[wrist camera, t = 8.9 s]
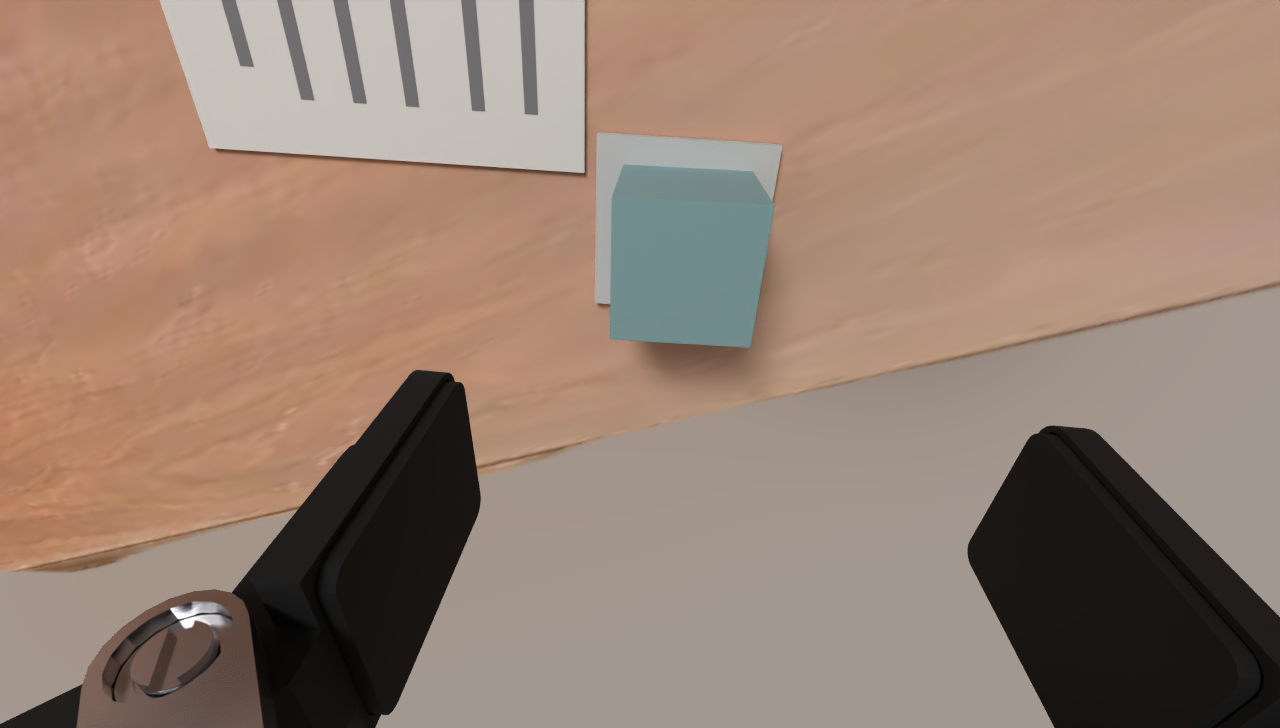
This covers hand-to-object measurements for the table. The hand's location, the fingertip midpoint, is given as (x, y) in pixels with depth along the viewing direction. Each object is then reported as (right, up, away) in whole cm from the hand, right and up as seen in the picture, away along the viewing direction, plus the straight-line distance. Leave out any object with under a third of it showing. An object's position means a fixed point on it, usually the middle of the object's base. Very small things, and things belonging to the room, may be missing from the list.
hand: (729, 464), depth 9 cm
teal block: (0, +7, +13) cm, 15 cm away
